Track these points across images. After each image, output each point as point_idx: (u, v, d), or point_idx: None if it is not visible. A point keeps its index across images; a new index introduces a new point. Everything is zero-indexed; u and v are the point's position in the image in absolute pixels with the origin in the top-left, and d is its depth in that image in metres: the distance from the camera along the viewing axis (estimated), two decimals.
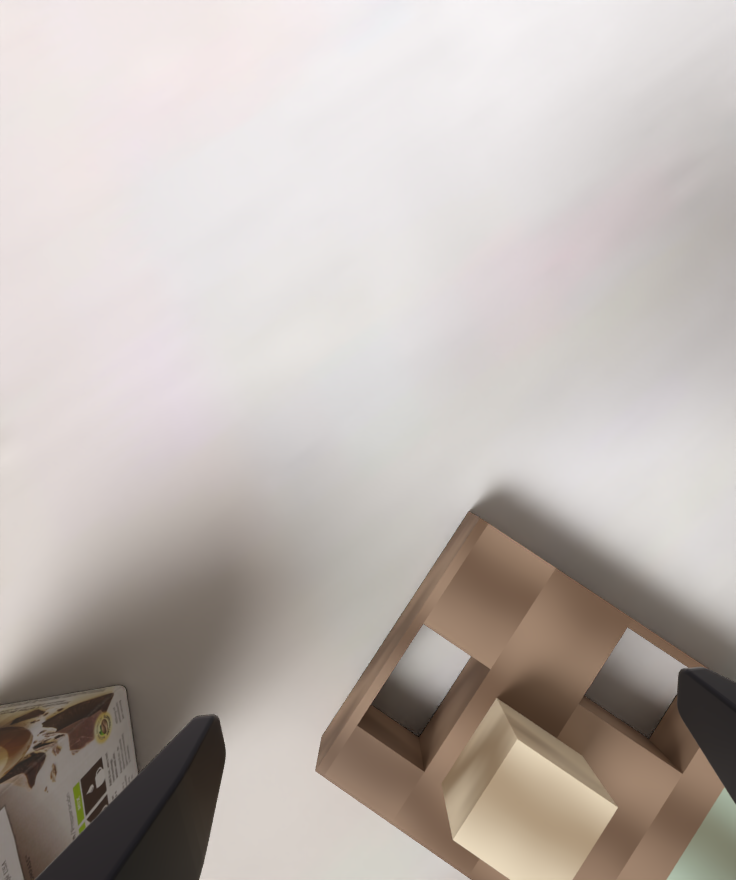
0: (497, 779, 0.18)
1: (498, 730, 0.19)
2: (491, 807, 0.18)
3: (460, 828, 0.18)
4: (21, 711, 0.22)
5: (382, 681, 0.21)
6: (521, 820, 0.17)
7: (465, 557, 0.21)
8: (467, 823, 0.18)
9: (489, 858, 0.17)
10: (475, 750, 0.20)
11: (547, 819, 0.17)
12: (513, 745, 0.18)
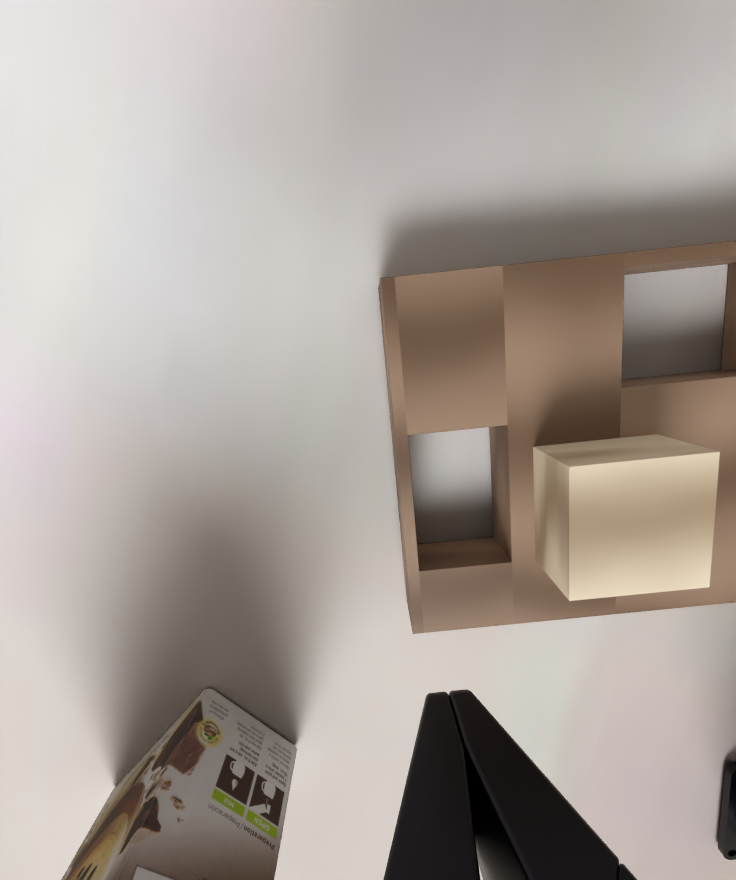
0: (575, 518, 0.14)
1: (549, 474, 0.15)
2: (587, 547, 0.14)
3: (569, 586, 0.15)
4: (140, 767, 0.21)
5: (411, 517, 0.17)
6: (625, 536, 0.14)
7: (398, 334, 0.16)
8: (573, 577, 0.15)
9: (616, 591, 0.15)
10: (543, 508, 0.16)
11: (652, 516, 0.14)
12: (569, 475, 0.14)
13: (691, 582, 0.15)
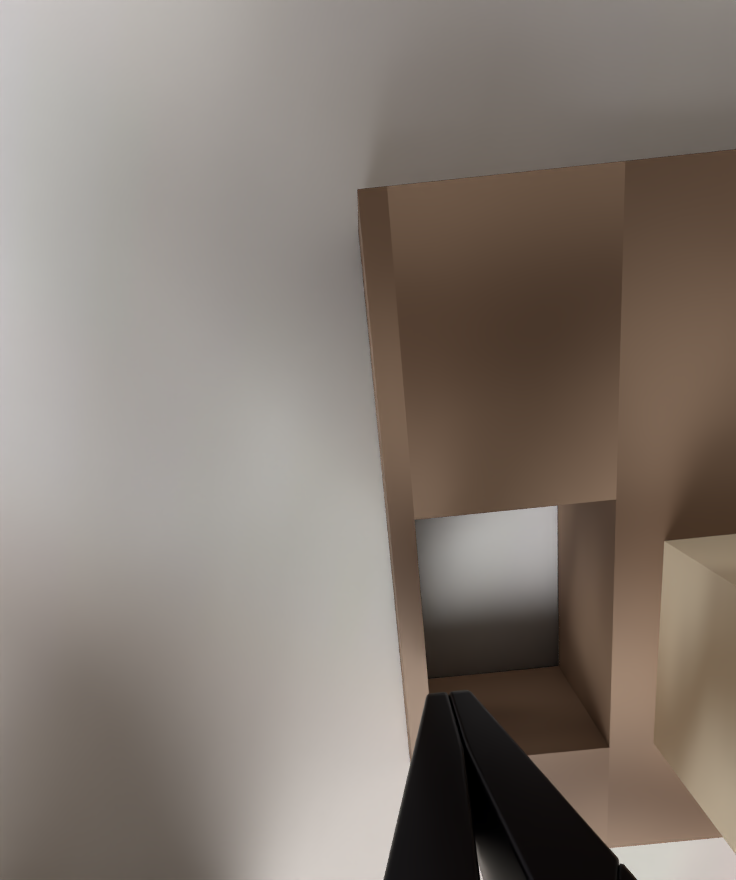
0: None
1: (726, 619, 0.07)
2: None
3: None
4: None
5: (420, 672, 0.09)
6: None
7: (395, 314, 0.07)
8: None
9: None
10: (692, 672, 0.08)
11: None
12: None
13: None
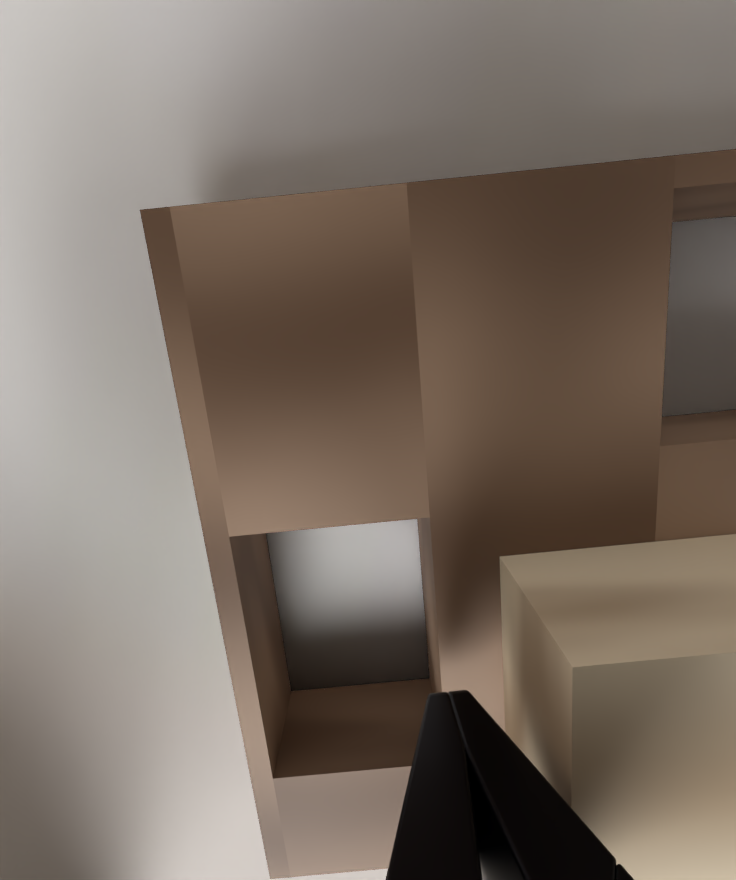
0: (586, 777, 0.06)
1: (529, 638, 0.07)
2: (614, 837, 0.06)
3: None
4: None
5: (249, 687, 0.09)
6: (705, 815, 0.06)
7: (191, 333, 0.07)
8: None
9: None
10: (518, 689, 0.08)
11: None
12: (571, 686, 0.06)
13: None
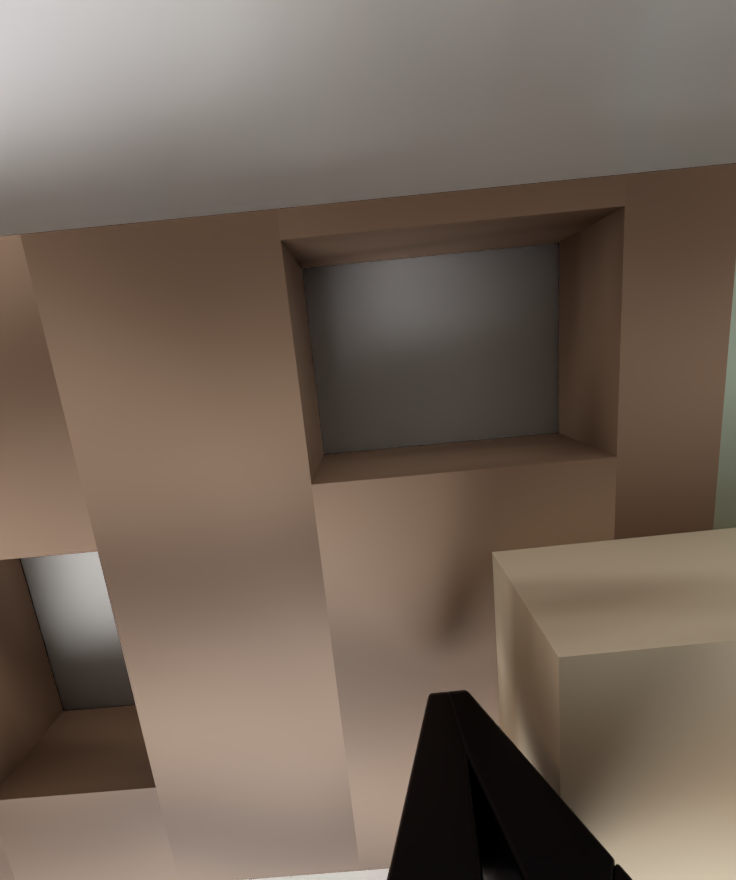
0: (574, 767, 0.06)
1: (520, 631, 0.07)
2: (603, 827, 0.06)
3: None
4: None
5: None
6: (694, 805, 0.06)
7: None
8: None
9: None
10: (511, 683, 0.08)
11: None
12: (558, 676, 0.06)
13: None
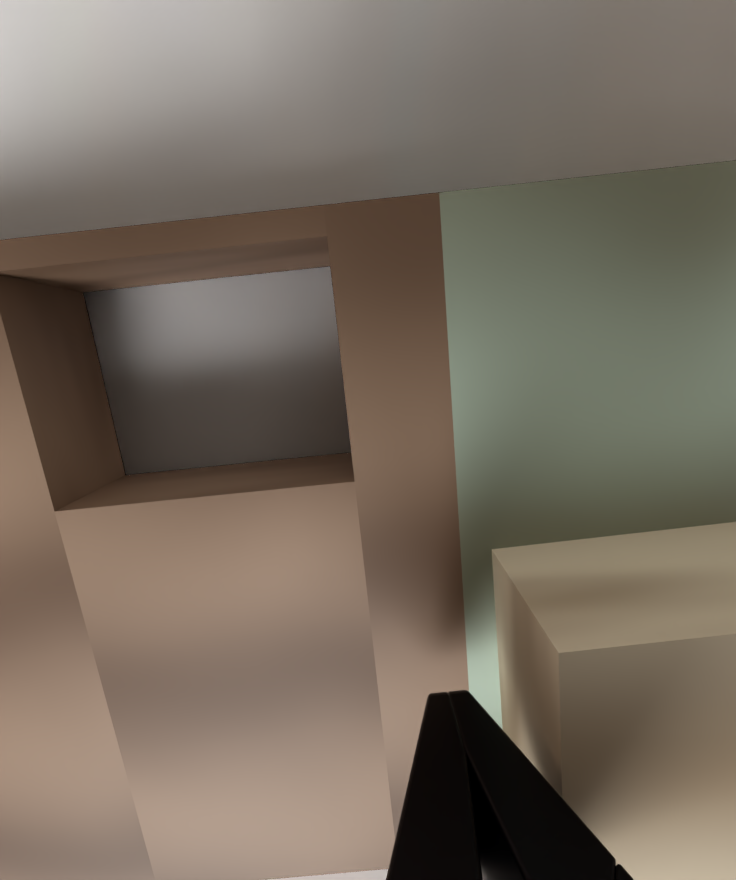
0: (576, 763, 0.06)
1: (520, 628, 0.07)
2: (605, 822, 0.06)
3: None
4: None
5: None
6: (694, 798, 0.06)
7: None
8: None
9: None
10: (512, 680, 0.08)
11: None
12: (558, 672, 0.06)
13: None
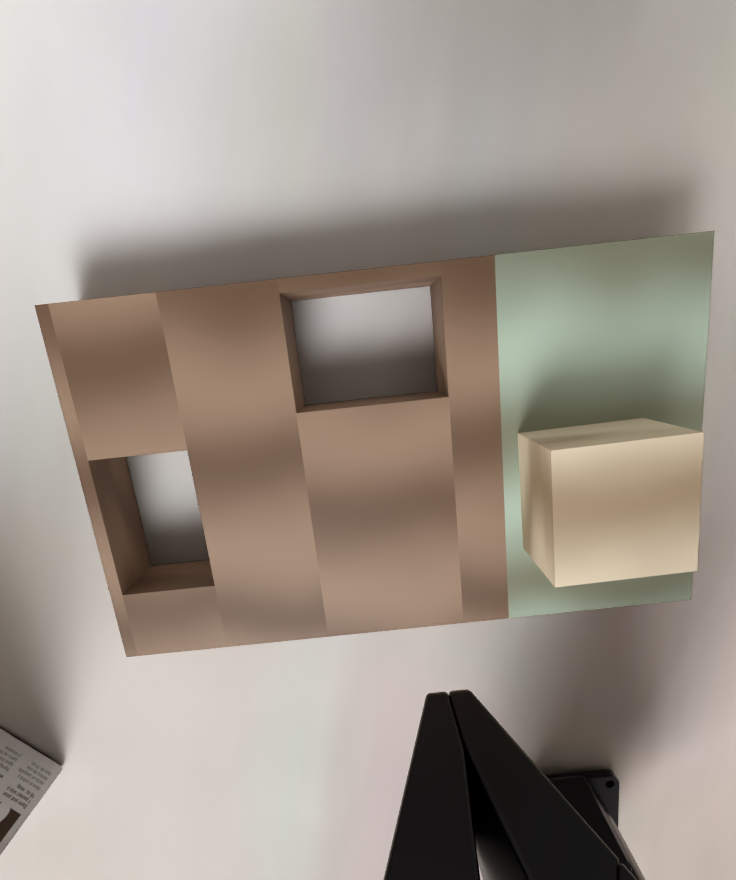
0: (558, 502, 0.14)
1: (533, 459, 0.15)
2: (571, 532, 0.14)
3: (555, 572, 0.15)
4: None
5: (104, 542, 0.17)
6: (610, 520, 0.14)
7: (61, 361, 0.16)
8: (558, 563, 0.14)
9: (603, 576, 0.15)
10: (528, 495, 0.16)
11: (637, 499, 0.14)
12: (550, 460, 0.14)
13: (678, 566, 0.15)
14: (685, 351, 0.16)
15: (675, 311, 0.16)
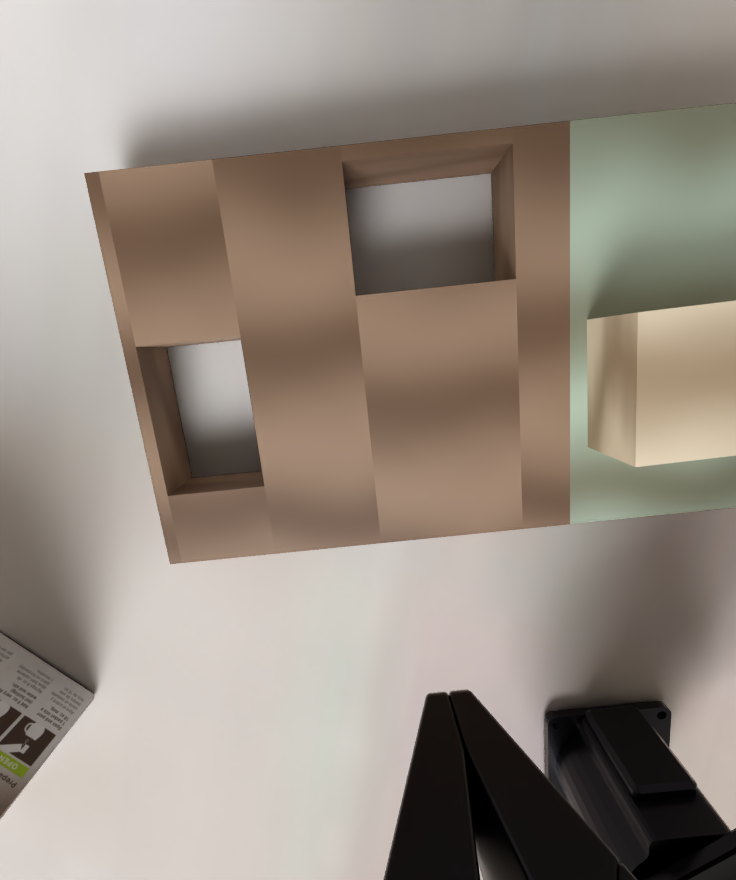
0: (643, 371, 0.13)
1: (610, 337, 0.14)
2: (655, 405, 0.13)
3: (636, 450, 0.14)
4: None
5: (151, 436, 0.16)
6: (697, 392, 0.13)
7: (111, 235, 0.15)
8: (640, 440, 0.14)
9: (686, 455, 0.14)
10: (600, 382, 0.15)
11: (726, 369, 0.13)
12: (637, 322, 0.13)
13: None
14: None
15: None
